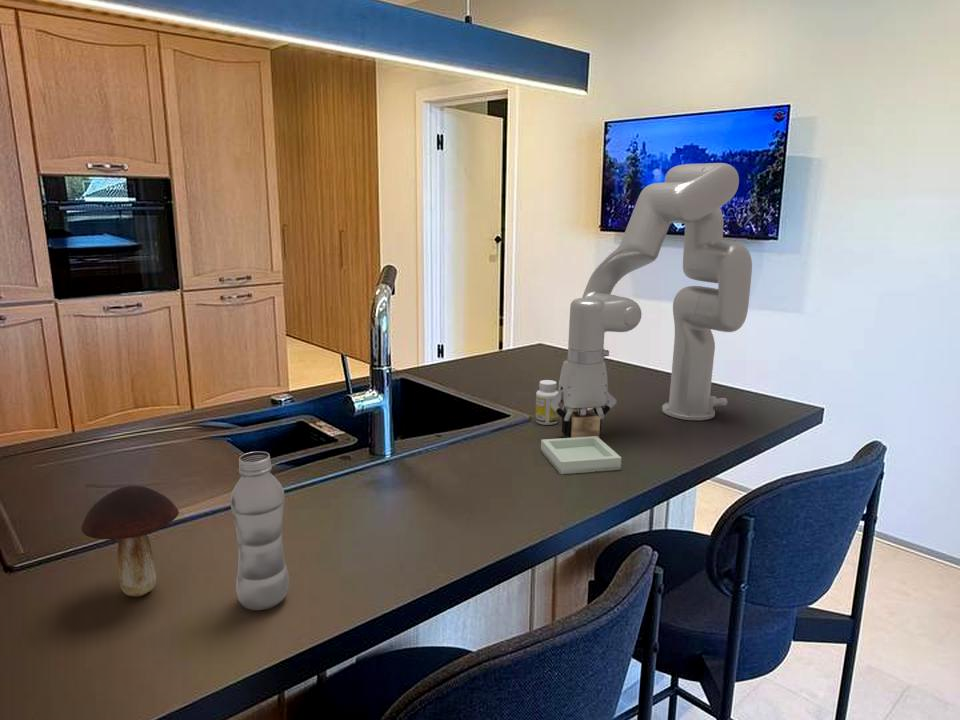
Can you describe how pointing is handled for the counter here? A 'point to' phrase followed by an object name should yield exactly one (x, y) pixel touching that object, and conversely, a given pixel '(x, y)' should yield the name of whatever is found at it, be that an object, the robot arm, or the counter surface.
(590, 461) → the tray
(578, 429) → the ring
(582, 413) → the post
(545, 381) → the supplement bottle
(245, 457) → the plastic bottle
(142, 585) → the decorative mushroom
